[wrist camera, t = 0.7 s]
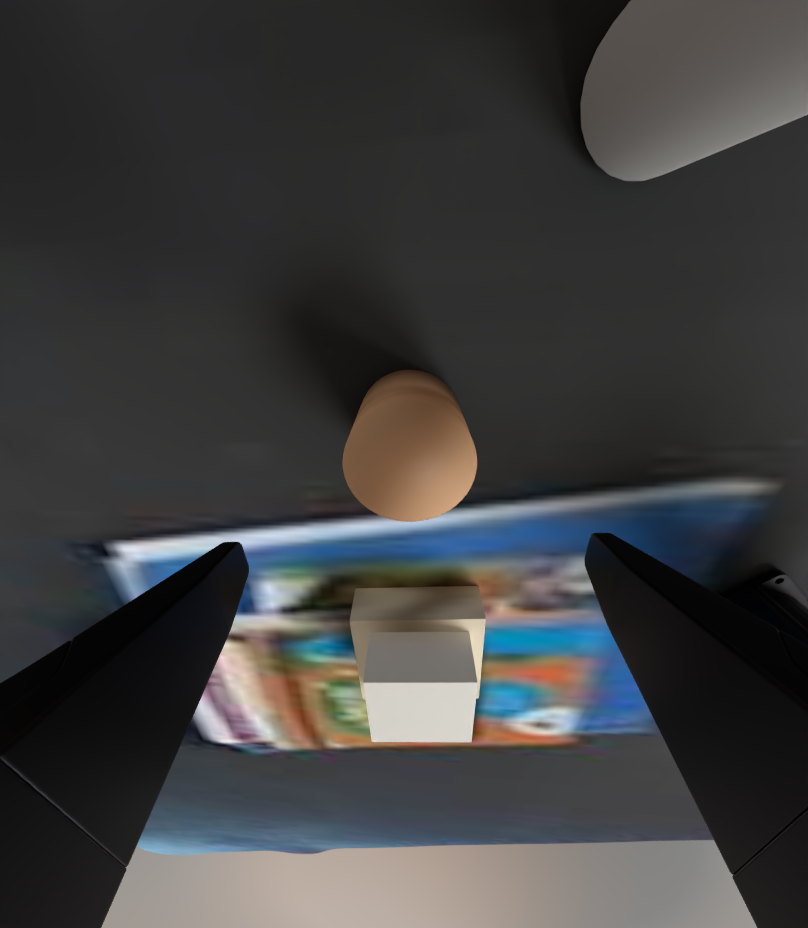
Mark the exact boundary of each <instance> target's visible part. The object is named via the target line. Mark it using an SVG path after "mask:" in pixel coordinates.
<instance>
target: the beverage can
mask: <svg viewBox="0 0 808 928" xmlns="http://www.w3.org/2000/svg"><path fill="white" fill-rule="evenodd" d="M580 105H581V129H582V132H583V136H584V140H585V144H586V147H587V149H588V151H589V153H590V154H591V156H592V158H593V160H594V161H595V163H596V164H597V165H598V166H599V167H600V168H601V169H603V170H604V171H605V172H606V173H607V174H609V175H610V176H613V177H616V178H619V179H621V180H624V181H645V180H648V179H652V178H655V177H658V176H661V175H664V174H666V173H669V172H671V171H673V170H676V169H678V168H681V167H683V166H686V165H688V164H690V163H693V162H695V161H698V160H700V159H702V158H705V157H707V156H710V155H712V154H714V153H717V152H719V151H722V150H724V149H726V148H729V147H731V146H734V145H736V144H738V143H741V142H743V141H746V140H748V139H750V138H753V137H755V136H758V135H760V134H762V133H765V132H767V131H770V130H772V129H774V128H777V127H779V126H782V125H784V124H786V123H789V122H791V121H794V120H796V119H798V118H801V117H803V116H806V115H808V0H631V1H630V2H629V3H628V4H627V6H626V7H625V8H624V10H623V11H622V12H621V13H620V15H619V16H618V17H617V19H616V20H615V21H614V22H613V24H612V25H611V27H610V29H609V30H608V32H607V33H606V35H605V37H604V38H603V40H602V41H601V43H600V44H599V46H598V48H597V50H596V52H595V54H594V57H593V59H592V62H591V64H590V66H589V69H588V71H587V74H586V76H585V81H584V87H583V92H582V97H581V103H580Z"/></svg>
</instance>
